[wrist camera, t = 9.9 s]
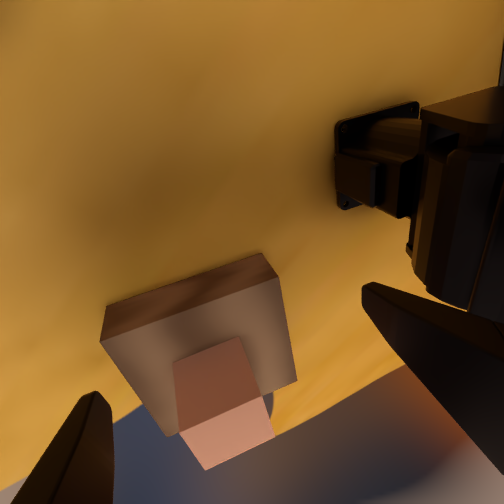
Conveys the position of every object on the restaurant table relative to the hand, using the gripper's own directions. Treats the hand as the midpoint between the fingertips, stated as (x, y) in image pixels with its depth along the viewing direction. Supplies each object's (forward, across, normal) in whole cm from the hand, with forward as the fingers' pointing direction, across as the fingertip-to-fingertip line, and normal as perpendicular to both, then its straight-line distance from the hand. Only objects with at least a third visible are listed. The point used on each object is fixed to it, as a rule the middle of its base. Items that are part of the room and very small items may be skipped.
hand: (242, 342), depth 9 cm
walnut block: (+12, +2, +11) cm, 17 cm away
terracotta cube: (+8, +2, +11) cm, 14 cm away
